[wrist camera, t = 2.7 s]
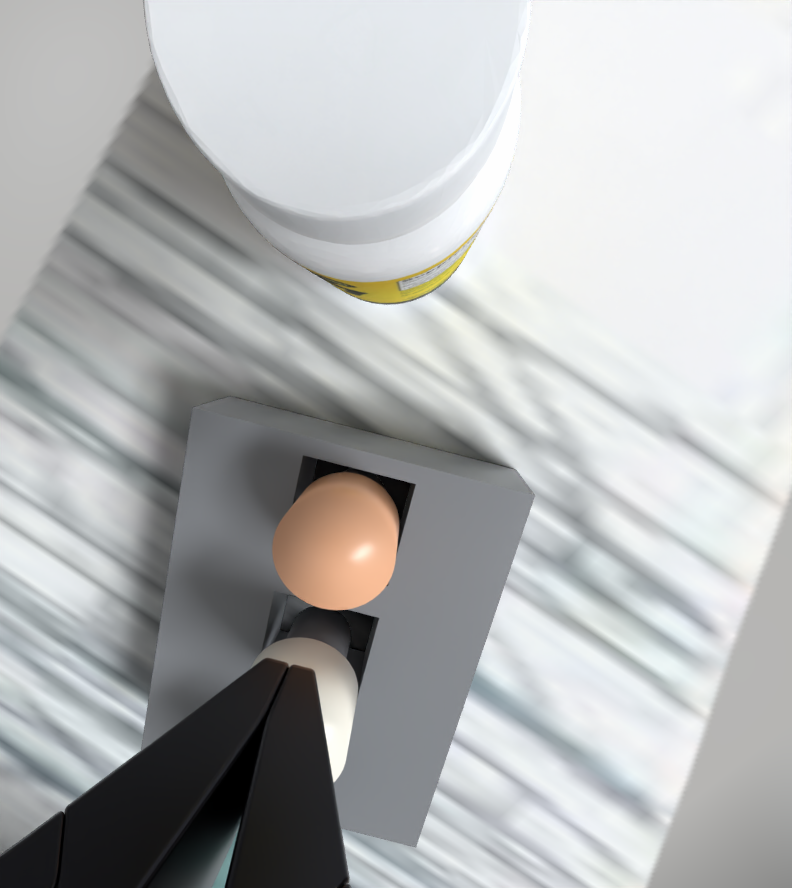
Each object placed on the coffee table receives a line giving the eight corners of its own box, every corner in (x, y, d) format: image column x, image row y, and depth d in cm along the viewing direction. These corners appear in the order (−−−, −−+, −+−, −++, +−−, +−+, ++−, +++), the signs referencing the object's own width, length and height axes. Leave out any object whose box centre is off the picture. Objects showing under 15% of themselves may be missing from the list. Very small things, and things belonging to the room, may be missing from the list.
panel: (416, 776, 17) (415, 847, 14) (176, 715, 17) (137, 776, 14) (516, 469, 14) (534, 495, 12) (230, 396, 14) (192, 407, 12)
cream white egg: (356, 682, 14) (331, 812, 10) (268, 660, 14) (209, 781, 10) (377, 604, 14) (360, 710, 10) (285, 580, 14) (230, 676, 10)
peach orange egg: (390, 547, 15) (379, 623, 11) (304, 525, 15) (262, 593, 11) (412, 465, 14) (409, 513, 10) (323, 442, 14) (284, 481, 10)
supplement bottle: (269, 204, 13) (1, -39, 5) (402, 78, 12) (360, -488, 4) (377, 342, 14) (309, 343, 5) (510, 232, 13) (673, 34, 4)
